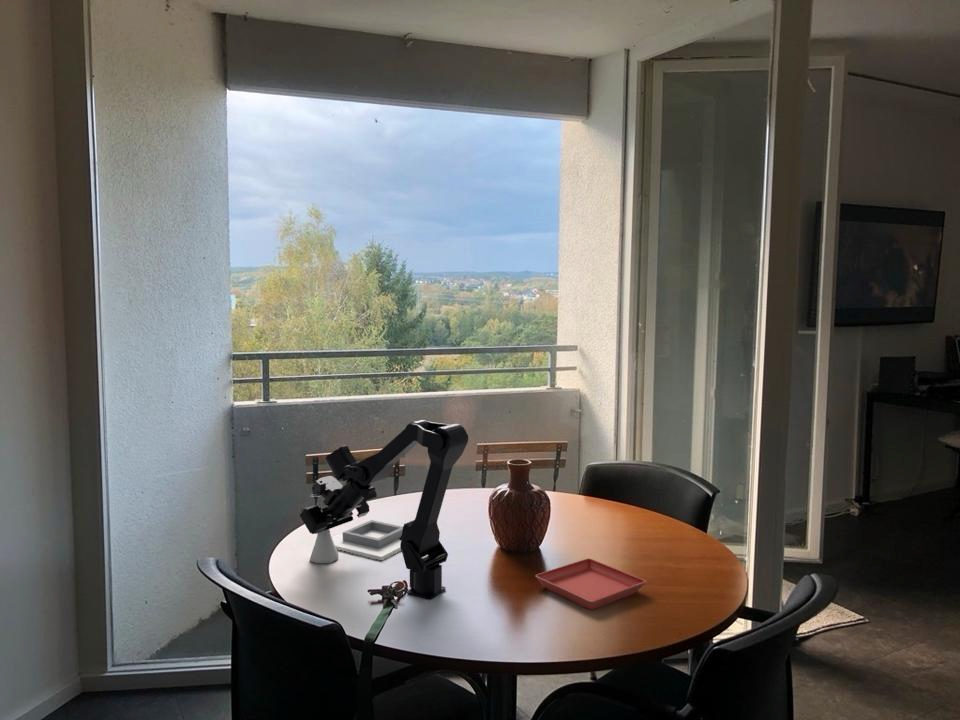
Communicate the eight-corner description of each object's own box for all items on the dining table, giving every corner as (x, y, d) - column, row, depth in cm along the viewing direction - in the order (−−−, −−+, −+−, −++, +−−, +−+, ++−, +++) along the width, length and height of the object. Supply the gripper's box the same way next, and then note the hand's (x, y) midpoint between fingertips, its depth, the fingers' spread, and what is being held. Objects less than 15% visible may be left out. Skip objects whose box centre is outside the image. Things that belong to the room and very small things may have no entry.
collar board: (426, 537, 197) (426, 525, 197) (381, 560, 180) (381, 548, 180) (369, 524, 207) (369, 513, 207) (320, 545, 190) (320, 534, 190)
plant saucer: (533, 588, 165) (533, 574, 165) (588, 569, 176) (588, 556, 176) (591, 617, 151) (591, 601, 151) (647, 595, 162) (647, 581, 162)
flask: (331, 565, 177) (331, 525, 176) (304, 563, 178) (303, 523, 177) (343, 555, 184) (342, 516, 183) (316, 552, 185) (316, 514, 184)
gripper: (360, 460, 184) (331, 495, 191) (304, 476, 169) (274, 513, 176) (384, 496, 180) (352, 530, 188) (328, 515, 165) (296, 551, 172)
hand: (319, 530), depth 181 cm, fingers closed on flask, 3 cm apart
